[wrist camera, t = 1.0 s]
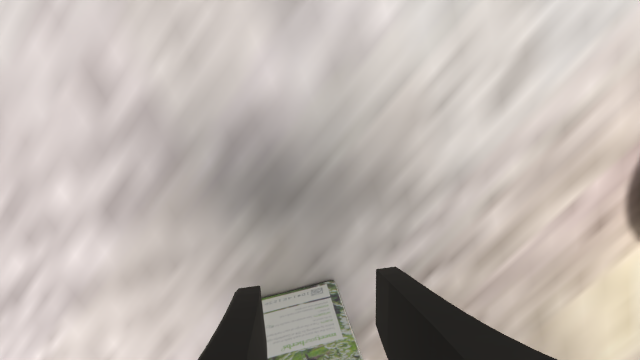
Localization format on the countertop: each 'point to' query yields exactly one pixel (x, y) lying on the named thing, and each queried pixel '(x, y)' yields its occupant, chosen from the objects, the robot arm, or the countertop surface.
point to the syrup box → (309, 325)
